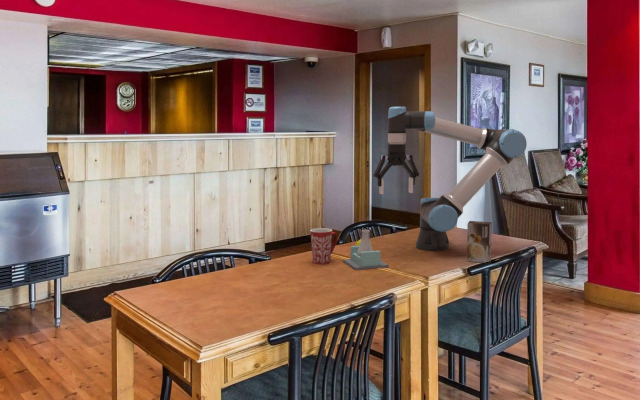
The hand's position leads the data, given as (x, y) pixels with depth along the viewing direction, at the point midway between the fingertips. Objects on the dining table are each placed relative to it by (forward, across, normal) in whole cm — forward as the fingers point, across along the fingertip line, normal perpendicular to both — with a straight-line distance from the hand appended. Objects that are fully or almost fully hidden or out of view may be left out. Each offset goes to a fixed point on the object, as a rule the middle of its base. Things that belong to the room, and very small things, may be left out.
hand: (396, 193), depth 240 cm
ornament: (+27, +13, -4) cm, 30 cm away
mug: (+27, +33, +3) cm, 43 cm away
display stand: (+27, +19, +13) cm, 35 cm away
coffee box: (+27, -28, +21) cm, 44 cm away
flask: (+23, +19, +13) cm, 32 cm away
